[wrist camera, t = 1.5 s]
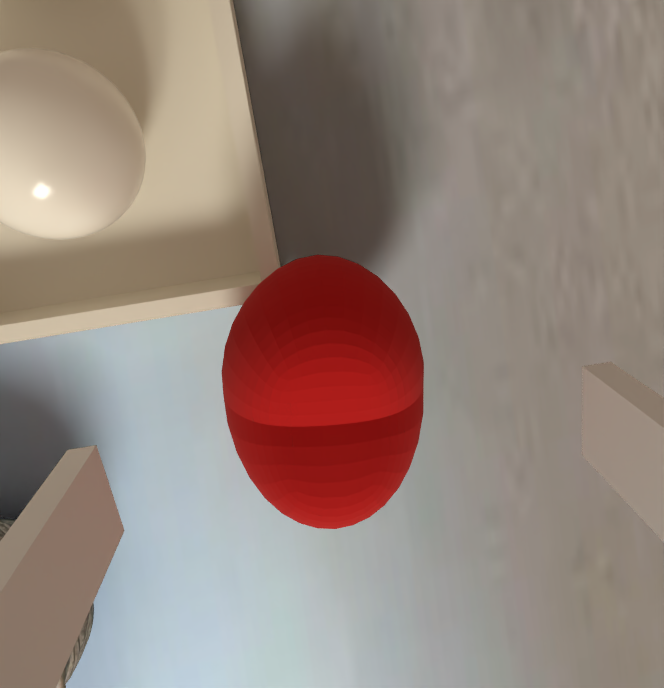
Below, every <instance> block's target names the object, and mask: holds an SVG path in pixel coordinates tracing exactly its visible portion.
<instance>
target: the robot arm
mask: <svg viewBox="0 0 664 688" xmlns="http://www.w3.org/2000/svg"><path fill="white" fill-rule="evenodd" d="M582 456H583V457H584V458H585V459H586V460H587V461H588V462H589V463H590V464H591V465H592V466H593V467H594V468H595V470H596V471H597V472H598V473H599V474H600V475H601V476H602V477H603V478H604V479H605V480H606V481H607V482H608V483H609V484H610V486H611V487H612V488H613V489H614V490H615V491H616V492H617V493H618V494H619V495H620V496H621V497H622V498H623V499H624V500H625V502H626V503H627V504H628V505H629V506H630V507H631V508H632V509H633V510H634V511H635V512H636V513H637V514H638V515H639V516H640V518H641V519H642V520H643V521H644V522H645V523H646V524H647V525H648V526H649V527H650V528H651V529H652V530H653V531H654V532H655V534H656V535H657V536H658V537H659V538H660V539H661V540H662V541H663V542H664V398H663V397H662V396H660V395H659V394H657V393H656V392H654V391H653V390H651V389H650V388H648V387H647V386H645V385H644V384H642V383H641V382H640V381H638V380H637V379H635V378H634V377H632V376H631V375H629V374H628V373H626V372H625V371H623V370H622V369H620V368H619V367H617V366H616V365H614V364H613V363H612V362H606V363H600V364H594V365H588V366H582ZM123 532H124V528H123V525H122V522H121V519H120V516H119V513H118V510H117V507H116V504H115V501H114V497H113V494H112V491H111V488H110V485H109V482H108V479H107V476H106V473H105V470H104V467H103V464H102V461H101V458H100V455H99V452H98V449H97V446H96V445H94V446H88V447H82V448H76V449H70V450H67V451H66V453H65V454H64V455H63V457H62V458H61V460H60V461H59V462H58V464H57V465H56V466H55V468H54V469H53V470H52V472H51V473H50V474H49V476H48V477H47V479H46V480H45V481H44V483H43V484H42V485H41V487H40V488H39V489H38V491H37V492H36V494H35V495H34V496H33V498H32V499H31V500H30V502H29V503H28V504H27V506H26V507H25V508H24V510H23V511H22V513H21V514H20V515H19V517H18V518H17V519H16V521H15V522H14V523H13V525H12V526H11V527H10V529H9V530H8V532H7V533H6V534H5V536H4V537H3V538H2V540H1V541H0V688H56V687H57V684H58V682H59V680H60V677H61V675H62V673H63V670H64V668H65V666H66V664H67V661H68V659H69V657H70V654H71V652H72V650H73V647H74V645H75V643H76V641H77V638H78V636H79V634H80V631H81V629H82V627H83V624H84V622H85V620H86V618H87V615H88V613H89V611H90V608H91V606H92V604H93V601H94V599H95V597H96V594H97V592H98V590H99V588H100V585H101V583H102V581H103V578H104V576H105V574H106V571H107V569H108V567H109V565H110V562H111V560H112V558H113V555H114V553H115V551H116V548H117V546H118V544H119V542H120V539H121V537H122V535H123Z"/></svg>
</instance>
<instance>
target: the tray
mask: <svg viewBox="0 0 664 688" xmlns="http://www.w3.org/2000/svg"><path fill="white" fill-rule="evenodd" d="M19 48H42V49H48V50H53V51H57V52H61V53H64V54H67V55H70V56H73V57H75V58H77V59H79V60H81V61H83V62H85V63H87V64H89V65H90V66H92V67H93V68H95V69H96V70H98V71H99V72H101V73H102V74H103V75H104V76H105V77H107V78H108V79H109V80H110V81H111V82H112V83H113V84H114V85H115V86H116V87H117V88H118V89H119V90H120V91H121V93H122V94H123V95H124V97H125V98H126V99H127V101H128V102H129V104H130V106H131V107H132V109H133V111H134V113H135V115H136V117H137V119H138V121H139V124H140V127H141V130H142V133H143V137H144V142H145V148H146V166H145V173H144V178H143V182H142V185H141V188H140V190H139V193H138V195H137V197H136V198H135V200H134V202H133V203H132V205H131V206H130V208H129V209H128V210H127V211H126V212H125V213H124V214H123V215H122V216H121V217H120V218H119V219H118V220H116V221H115V222H114V223H113V224H111V225H110V226H108V227H107V228H105V229H103V230H101V231H99V232H97V233H94V234H91V235H88V236H84V237H79V238H75V239H65V240H56V239H45V238H39V237H34V236H30V235H27V234H23V233H21V232H18V231H16V230H13V229H11V228H9V227H7V226H5V225H4V224H2V223H0V344H4V343H10V342H16V341H22V340H29V339H35V338H41V337H47V336H53V335H59V334H65V333H72V332H78V331H84V330H90V329H96V328H102V327H108V326H115V325H121V324H127V323H133V322H139V321H145V320H151V319H158V318H164V317H170V316H176V315H182V314H188V313H194V312H201V311H207V310H213V309H219V308H225V307H231V306H237V305H243V304H244V302H245V300H246V299H247V298H248V297H249V295H250V294H251V293H252V292H253V291H254V289H255V288H256V287H257V286H258V285H259V283H261V282H262V281H263V280H264V279H265V278H267V277H268V276H269V275H270V274H272V273H273V272H274V271H275V270H276V269H278V268H280V267H281V266H280V260H279V255H278V249H277V244H276V238H275V233H274V227H273V221H272V216H271V210H270V205H269V199H268V193H267V188H266V182H265V177H264V171H263V165H262V160H261V154H260V149H259V143H258V138H257V132H256V126H255V121H254V115H253V110H252V104H251V98H250V93H249V87H248V82H247V76H246V70H245V65H244V59H243V54H242V48H241V43H240V37H239V31H238V26H237V20H236V15H235V9H234V3H233V0H0V52H3V51H7V50H12V49H19Z"/></svg>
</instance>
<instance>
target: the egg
mask: <svg viewBox="0 0 664 688" xmlns="http://www.w3.org/2000/svg"><path fill="white" fill-rule="evenodd" d="M145 166H146V148H145V142H144V137H143V133H142V130H141V127H140V124H139V121H138V119H137V117H136V115H135V113H134V111H133V109H132V107H131V106H130V104H129V102H128V101H127V99H126V98H125V97H124V95H123V94H122V93H121V91H120V90H119V89H118V88H117V87H116V86H115V85H114V84H113V83H112V82H111V81H110V80H109V79H108V78H107V77H105V76H104V75H103V74H102V73H101V72H99V71H98V70H96V69H95V68H93V67H92V66H90V65H89V64H87V63H85V62H83V61H81V60H79V59H77V58H75V57H73V56H70V55H67V54H64V53H61V52H57V51H53V50H48V49H42V48H19V49H12V50H7V51H3V52H0V223H2V224H4V225H5V226H7V227H9V228H11V229H13V230H16V231H18V232H21V233H23V234H27V235H30V236H34V237H39V238H45V239H56V240H65V239H75V238H79V237H84V236H88V235H91V234H94V233H97V232H99V231H101V230H103V229H105V228H107V227H108V226H110V225H111V224H113V223H114V222H115V221H116V220H118V219H119V218H120V217H121V216H122V215H123V214H124V213H125V212H126V211H127V210H128V209H129V208H130V206H131V205H132V203H133V202H134V200H135V198H136V197H137V195H138V193H139V190H140V188H141V185H142V182H143V178H144V173H145Z"/></svg>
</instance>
